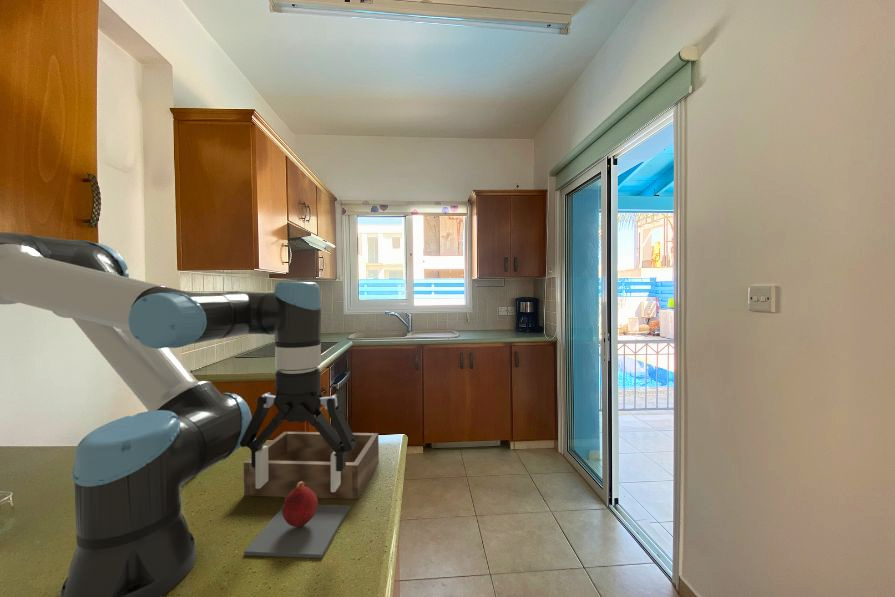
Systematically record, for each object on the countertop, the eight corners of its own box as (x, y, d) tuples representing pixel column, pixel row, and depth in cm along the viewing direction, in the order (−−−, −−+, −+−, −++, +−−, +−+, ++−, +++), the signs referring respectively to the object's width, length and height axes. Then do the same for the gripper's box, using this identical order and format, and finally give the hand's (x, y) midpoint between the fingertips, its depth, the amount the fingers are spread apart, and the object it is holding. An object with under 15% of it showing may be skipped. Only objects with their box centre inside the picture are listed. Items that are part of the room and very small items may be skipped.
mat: (244, 555, 58) (244, 551, 58) (285, 506, 71) (285, 503, 71) (321, 558, 57) (321, 554, 57) (349, 508, 70) (349, 505, 70)
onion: (309, 538, 61) (309, 492, 61) (276, 537, 61) (275, 491, 61) (322, 516, 67) (321, 474, 67) (292, 516, 67) (291, 474, 67)
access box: (244, 495, 75) (243, 462, 75) (284, 458, 91) (284, 431, 91) (358, 498, 73) (357, 465, 73) (378, 460, 90) (378, 433, 90)
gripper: (373, 365, 66) (372, 478, 67) (244, 362, 68) (245, 472, 69) (360, 375, 59) (360, 502, 59) (216, 371, 61) (217, 494, 61)
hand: (298, 486), depth 64 cm, fingers open, 13 cm apart
